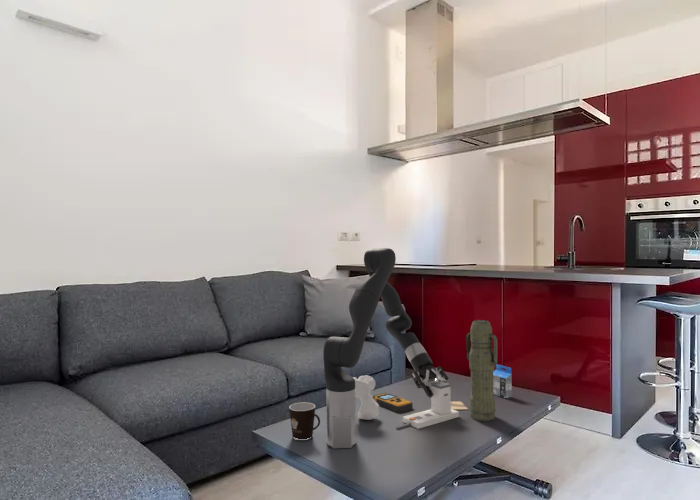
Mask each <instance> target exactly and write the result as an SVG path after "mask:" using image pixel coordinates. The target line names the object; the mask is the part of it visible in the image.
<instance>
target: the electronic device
mask: <svg viewBox="0 0 700 500" xmlns="http://www.w3.org/2000/svg"><path fill="white" fill-rule="evenodd" d="M372 397H373V399H374V400H375V401H376V403H378V405H379V407H383V408H385V409H388V410H389V411H390V410H391V411H392V412H395V413H403V412H407V411H411V410H412V409H413V401H412V402H411V401H409V400H407V399H404V398H402V397H399V396H397V395H393V394H390V393H388V392H382V393H379V394H375V395H372Z"/></svg>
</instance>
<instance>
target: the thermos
mask: <svg viewBox="0 0 700 500" xmlns="http://www.w3.org/2000/svg"><path fill="white" fill-rule="evenodd" d="M492 343H493V344H492ZM465 345H466V346H465V348H466V349H465V350H466V359H467V360H468V362H469V363H468V365H469V367H468V368H469V370H470V392H471V393H470V397H469V410H470V418H471V419H473V420H475V421H479V422H492V421H494V420H496V413H495V412H496V398H495V395H494V389H493V372H494V371H495V366H496V364H498V357H499V356H498V354H499V353H498V338H497V336H496V334H493V327H492V325H491V322H490V321H488V320H487V319H486V320H485V319H475V320H474V321H472V323H471V326H470V332H467V334H466V335H465ZM491 420H492V421H491Z"/></svg>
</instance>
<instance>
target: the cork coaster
mask: <svg viewBox="0 0 700 500" xmlns="http://www.w3.org/2000/svg"><path fill="white" fill-rule="evenodd" d="M451 409H453V410H455V411H467V410H469V408H468V407H467V406H466V405H465V404H464V403H463V402H462V401H460V400H458V401H457V400H456V401H454V400H453V401H451Z"/></svg>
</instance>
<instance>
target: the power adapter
mask: <svg viewBox="0 0 700 500" xmlns="http://www.w3.org/2000/svg"><path fill="white" fill-rule="evenodd" d="M430 385H431V386H430V389H431V391H432V392H433V396H432V397H430V404H431V405H430V409H431V412H433V413H436V414H438V415H441V416H442V415H445V414H449V413H451V402H452V400H451V399H452V398H451V395H452V394H451V391H452V388H451V383H448V382H446V383H445V382H442V380H440V381H439V382H435V381H434V382H431V384H430Z"/></svg>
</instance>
